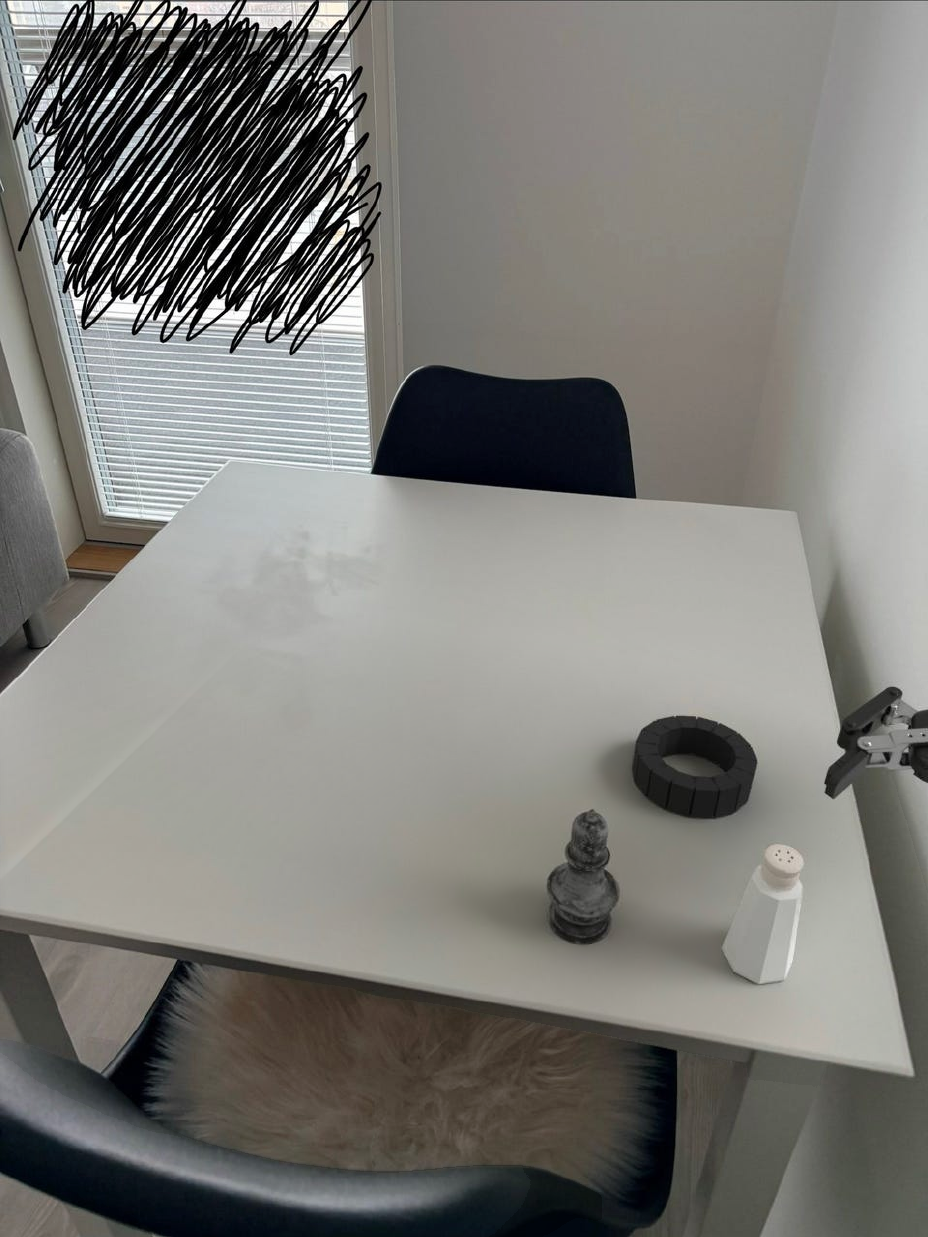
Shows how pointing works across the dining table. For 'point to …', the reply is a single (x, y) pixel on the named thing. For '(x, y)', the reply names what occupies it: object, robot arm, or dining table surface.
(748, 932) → the pepper shaker
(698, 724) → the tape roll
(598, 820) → the grey chess piece
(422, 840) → the dining table surface
